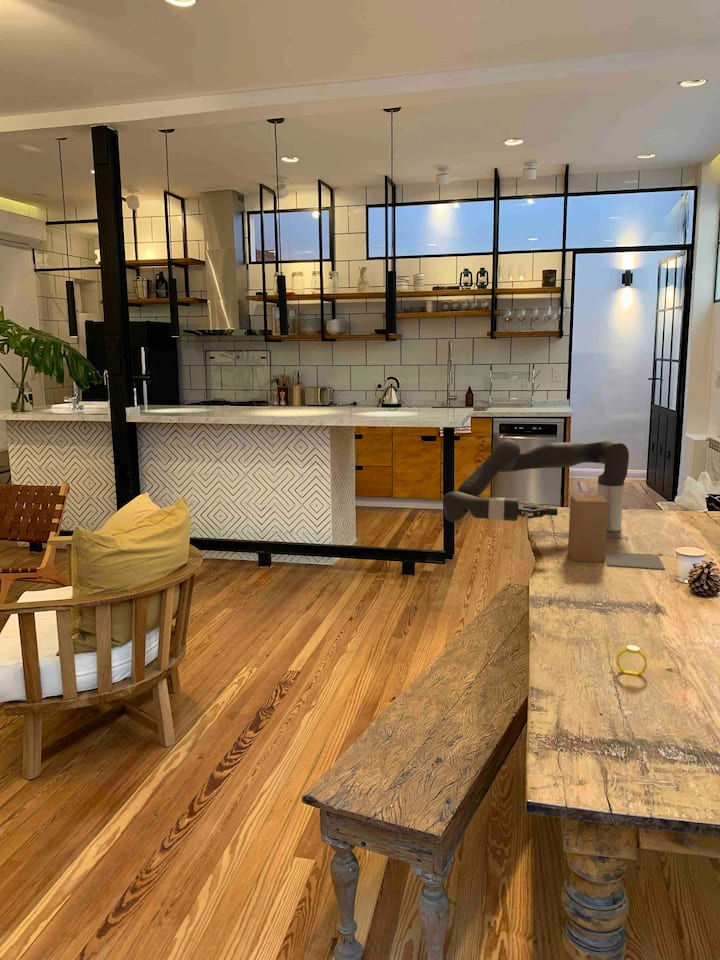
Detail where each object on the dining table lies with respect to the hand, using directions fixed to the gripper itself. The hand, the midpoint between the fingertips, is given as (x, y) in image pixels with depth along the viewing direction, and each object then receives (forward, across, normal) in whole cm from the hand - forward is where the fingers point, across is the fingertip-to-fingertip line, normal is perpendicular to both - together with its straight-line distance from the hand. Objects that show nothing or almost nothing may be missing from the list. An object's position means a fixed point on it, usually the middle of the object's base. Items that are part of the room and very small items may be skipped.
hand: (557, 511), depth 235 cm
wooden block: (+10, 0, -15) cm, 18 cm away
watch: (+15, +85, -15) cm, 87 cm away
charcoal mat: (+24, 0, -15) cm, 28 cm away
